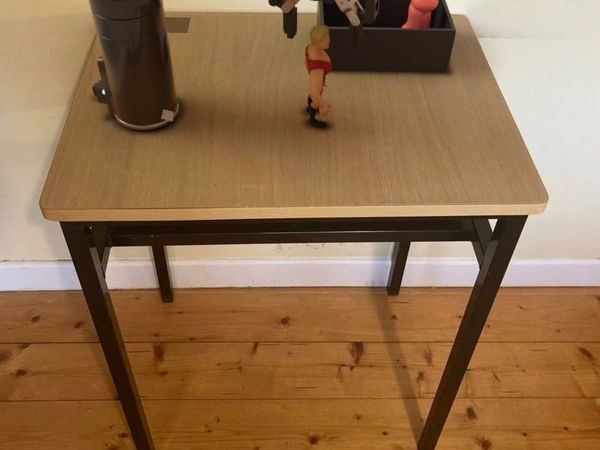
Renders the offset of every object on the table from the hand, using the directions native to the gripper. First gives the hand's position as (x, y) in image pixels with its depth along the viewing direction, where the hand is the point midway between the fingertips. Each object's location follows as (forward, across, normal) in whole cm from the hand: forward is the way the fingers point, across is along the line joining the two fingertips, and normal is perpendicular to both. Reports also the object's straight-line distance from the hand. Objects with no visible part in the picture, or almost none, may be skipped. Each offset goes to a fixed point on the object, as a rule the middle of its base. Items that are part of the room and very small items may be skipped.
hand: (321, 41), depth 84 cm
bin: (+13, -4, -22) cm, 25 cm away
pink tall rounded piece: (+12, -10, -24) cm, 28 cm away
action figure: (+13, 0, 0) cm, 13 cm away
